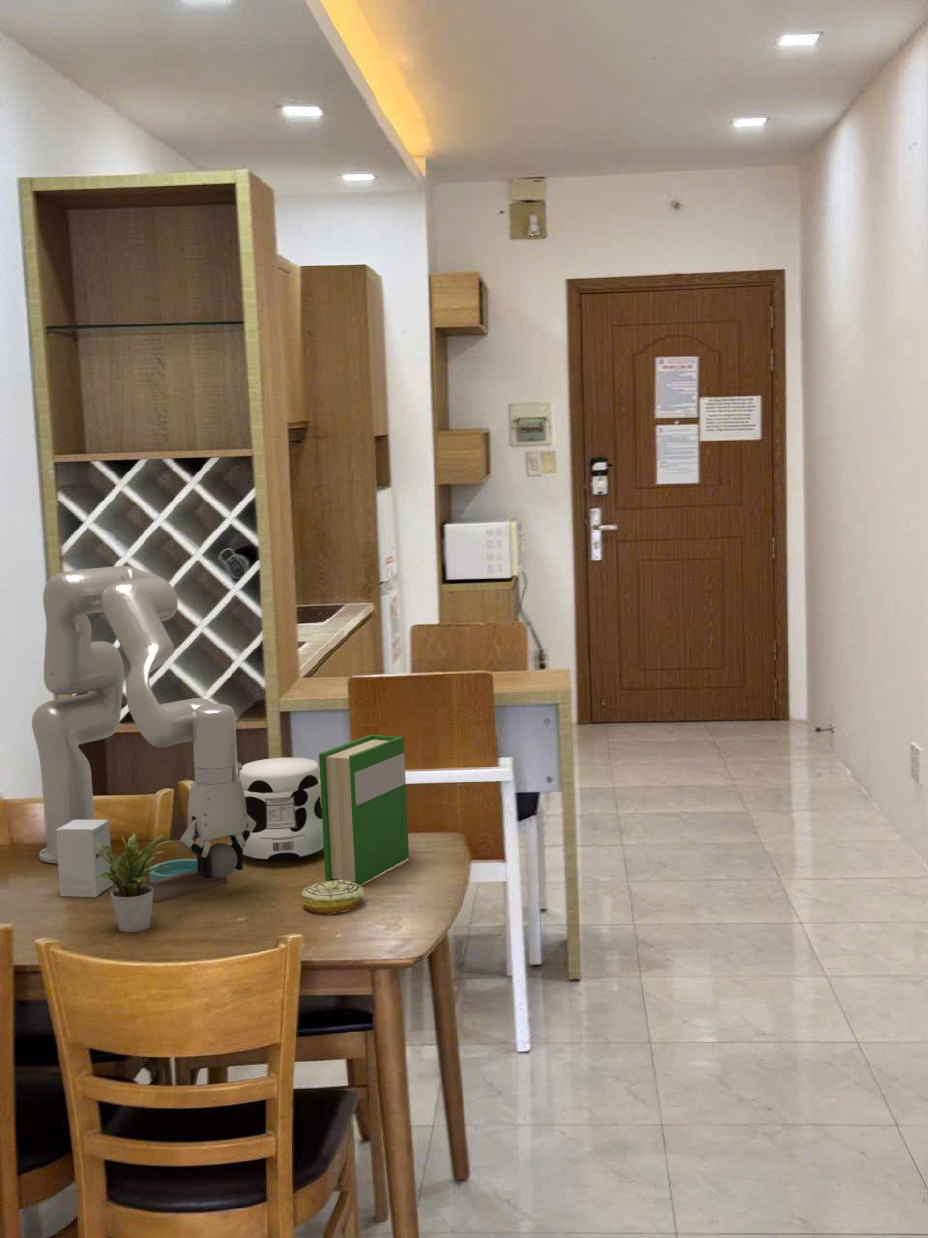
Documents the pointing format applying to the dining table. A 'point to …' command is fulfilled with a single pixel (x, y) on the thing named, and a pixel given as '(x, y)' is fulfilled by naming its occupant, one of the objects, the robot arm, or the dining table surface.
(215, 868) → the charcoal ball
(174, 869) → the teal dish
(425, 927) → the dining table surface
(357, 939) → the dining table surface
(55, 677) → the robot arm
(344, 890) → the decorated donut
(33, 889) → the dining table surface
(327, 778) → the hardback book
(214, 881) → the brown wooden bar
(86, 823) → the supplement box
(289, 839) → the milk container
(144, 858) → the house plant
